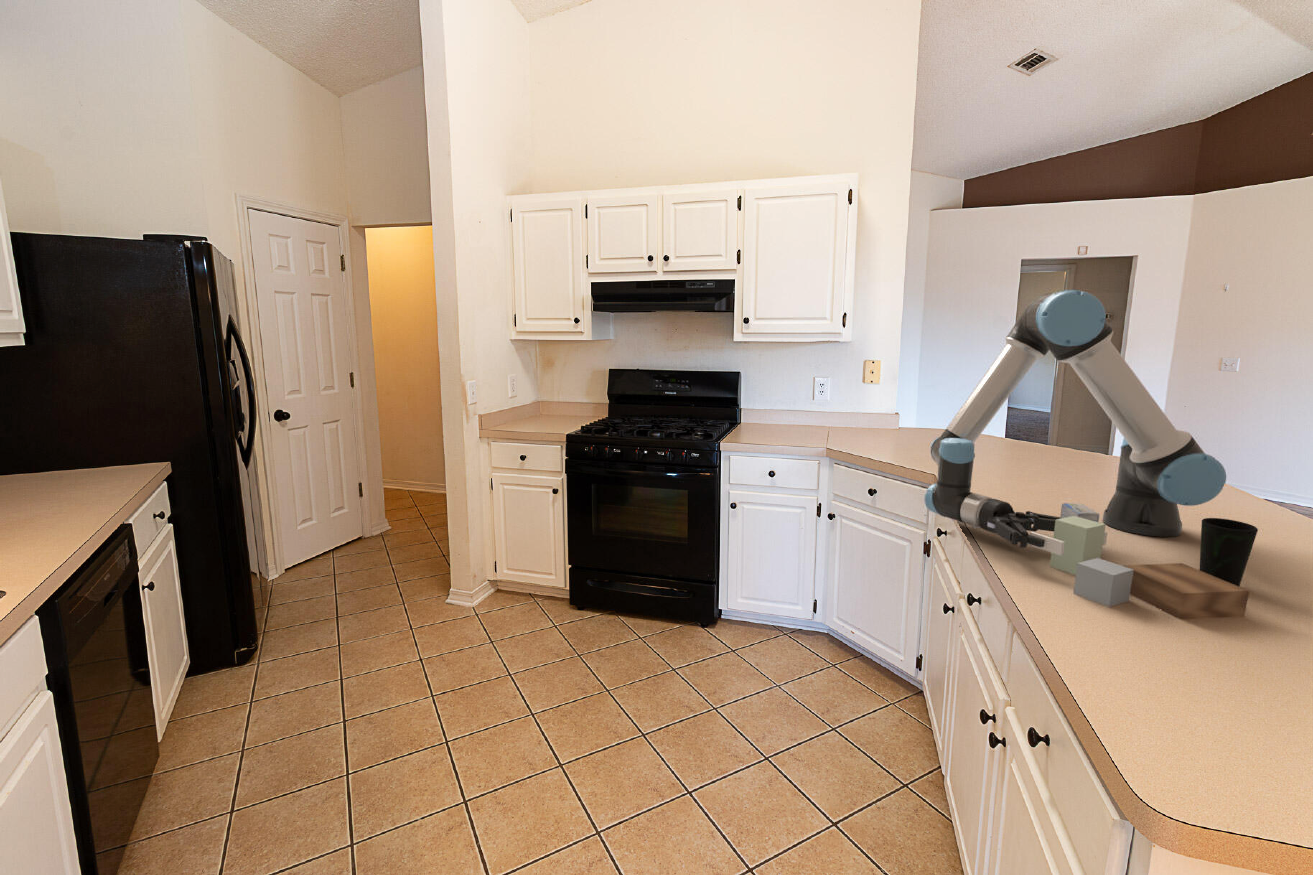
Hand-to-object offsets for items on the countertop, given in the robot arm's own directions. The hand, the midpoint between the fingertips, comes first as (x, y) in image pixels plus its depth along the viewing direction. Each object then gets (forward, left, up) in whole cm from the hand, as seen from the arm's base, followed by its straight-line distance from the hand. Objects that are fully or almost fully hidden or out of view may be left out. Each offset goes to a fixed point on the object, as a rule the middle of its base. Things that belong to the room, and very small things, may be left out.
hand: (1084, 543), depth 119 cm
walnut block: (-6, +14, -6) cm, 17 cm away
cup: (-21, +9, -6) cm, 24 cm away
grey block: (+6, +10, -6) cm, 14 cm away
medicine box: (-12, -14, -6) cm, 19 cm away
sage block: (0, -2, -6) cm, 6 cm away
